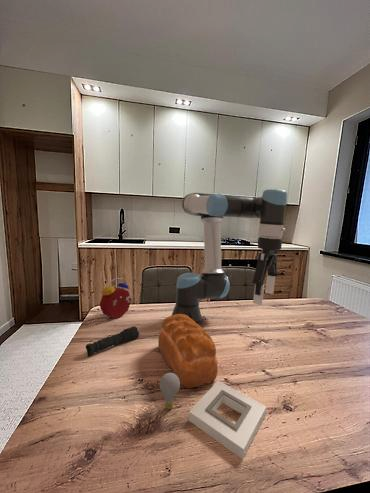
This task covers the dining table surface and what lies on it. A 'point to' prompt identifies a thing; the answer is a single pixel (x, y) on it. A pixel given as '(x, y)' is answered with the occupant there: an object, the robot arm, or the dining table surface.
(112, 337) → the flashlight
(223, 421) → the socket block
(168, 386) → the light bulb
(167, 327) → the bread
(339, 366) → the dining table surface
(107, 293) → the alarm clock
